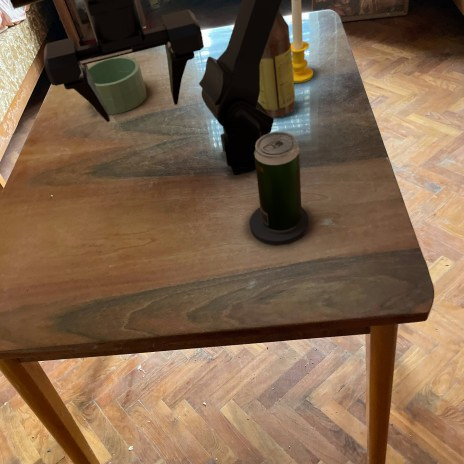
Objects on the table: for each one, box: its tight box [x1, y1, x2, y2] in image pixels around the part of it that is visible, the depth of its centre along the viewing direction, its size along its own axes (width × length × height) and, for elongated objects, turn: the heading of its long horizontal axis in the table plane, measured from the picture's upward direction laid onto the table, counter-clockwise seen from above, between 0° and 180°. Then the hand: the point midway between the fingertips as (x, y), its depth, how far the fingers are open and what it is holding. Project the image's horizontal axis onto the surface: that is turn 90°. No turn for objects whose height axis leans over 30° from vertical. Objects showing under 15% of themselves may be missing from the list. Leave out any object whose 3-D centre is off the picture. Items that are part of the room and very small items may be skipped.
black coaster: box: [249, 206, 310, 246], centre depth 71 cm, size 8×8×1 cm
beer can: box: [254, 131, 302, 233], centre depth 65 cm, size 5×5×12 cm
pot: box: [88, 55, 148, 115], centre depth 96 cm, size 11×11×6 cm
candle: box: [290, 0, 314, 84], centre depth 89 cm, size 5×5×16 cm
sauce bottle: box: [258, 7, 296, 118], centre depth 81 cm, size 7×6×20 cm
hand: (142, 111), depth 69 cm, fingers open, 9 cm apart
